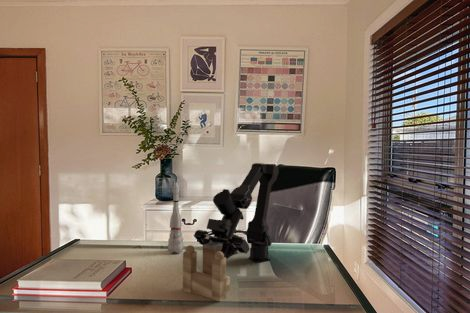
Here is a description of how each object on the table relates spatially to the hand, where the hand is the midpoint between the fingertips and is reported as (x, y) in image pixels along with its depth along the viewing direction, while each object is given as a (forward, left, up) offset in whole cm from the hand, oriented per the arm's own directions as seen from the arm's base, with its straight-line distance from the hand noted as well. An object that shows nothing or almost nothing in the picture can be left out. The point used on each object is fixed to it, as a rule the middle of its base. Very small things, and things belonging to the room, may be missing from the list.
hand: (210, 264), depth 101 cm
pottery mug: (-24, -32, -8) cm, 41 cm away
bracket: (-1, -1, -7) cm, 7 cm away
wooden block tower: (0, 0, -8) cm, 8 cm away
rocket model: (-3, -41, -8) cm, 42 cm away
